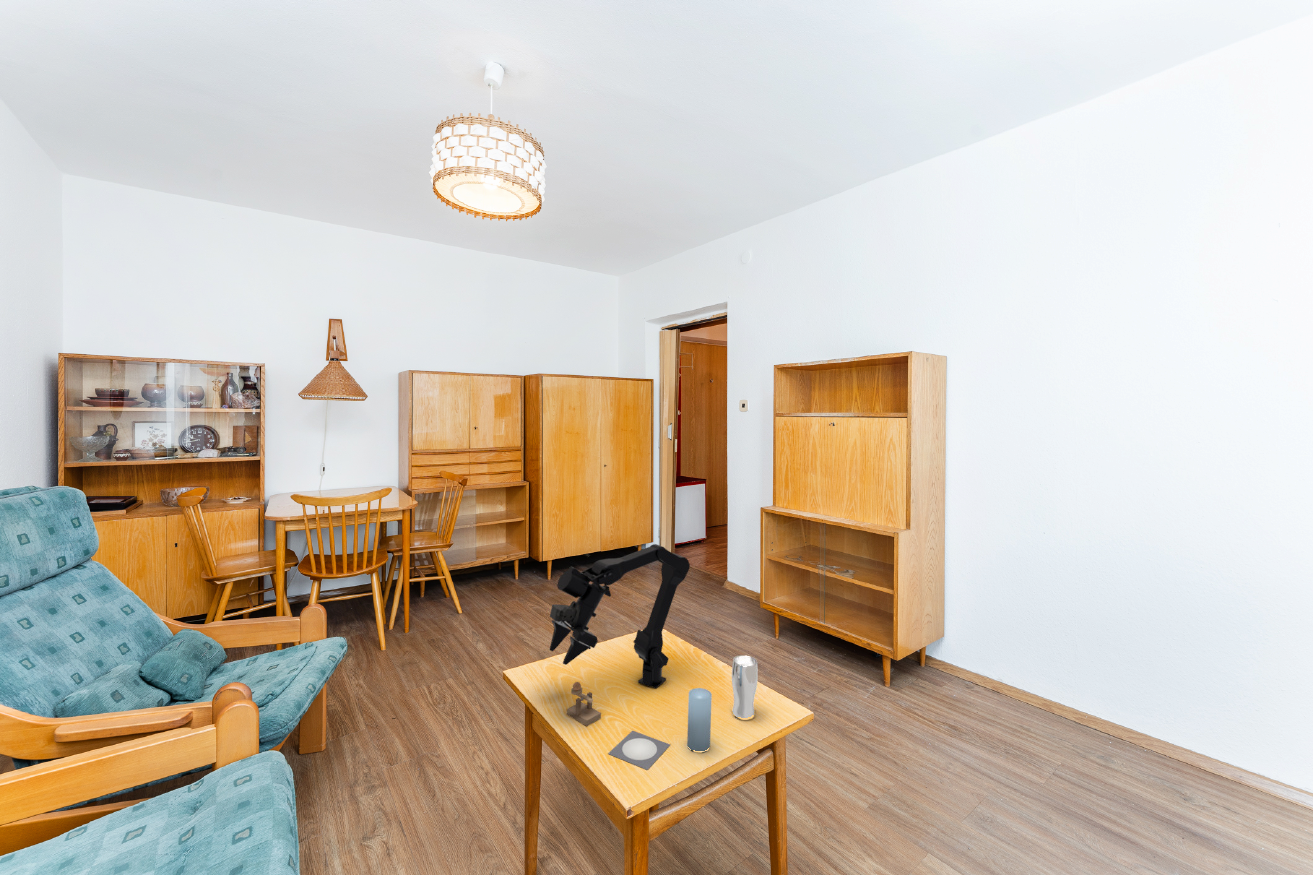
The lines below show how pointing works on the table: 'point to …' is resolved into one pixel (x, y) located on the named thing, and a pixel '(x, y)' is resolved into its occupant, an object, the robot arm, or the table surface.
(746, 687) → the beer glass
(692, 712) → the pale blue capsule
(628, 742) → the pad
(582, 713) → the catapult
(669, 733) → the table surface
